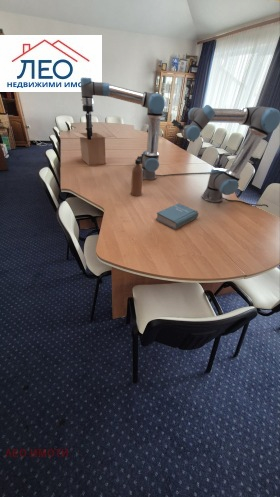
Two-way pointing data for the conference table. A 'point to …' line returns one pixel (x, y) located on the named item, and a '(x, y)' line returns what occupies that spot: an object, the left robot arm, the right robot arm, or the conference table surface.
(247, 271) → the conference table surface
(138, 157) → the laser sight
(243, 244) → the conference table surface
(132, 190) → the bottle
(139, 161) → the cap
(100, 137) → the box
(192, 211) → the book
